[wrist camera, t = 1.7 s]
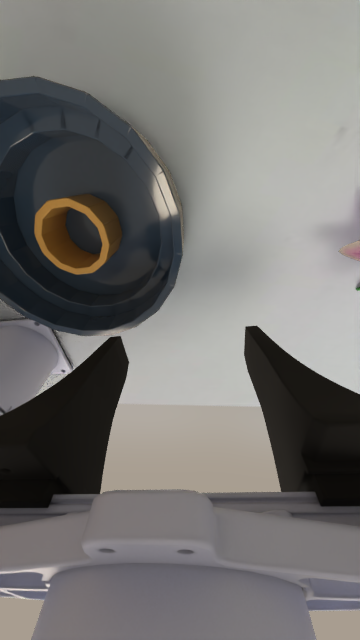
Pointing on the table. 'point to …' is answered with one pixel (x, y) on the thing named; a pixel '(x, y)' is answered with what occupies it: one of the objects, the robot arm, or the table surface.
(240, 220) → the table surface
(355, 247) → the lily
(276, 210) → the table surface
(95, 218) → the ring
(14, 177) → the bowl
